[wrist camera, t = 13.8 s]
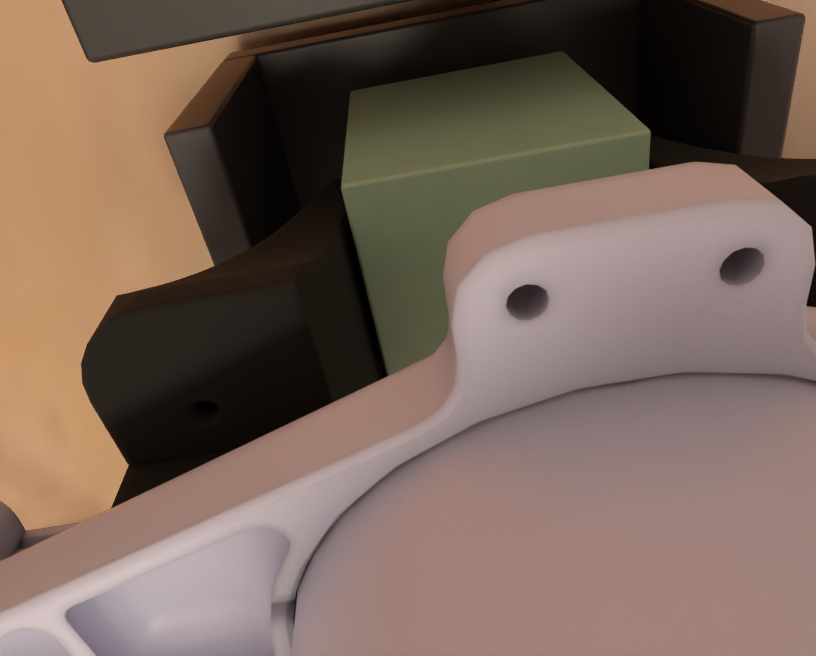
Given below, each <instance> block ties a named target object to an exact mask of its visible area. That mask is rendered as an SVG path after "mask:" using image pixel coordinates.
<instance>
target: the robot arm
mask: <svg viewBox="0 0 816 656" xmlns="http://www.w3.org/2000/svg"><path fill="white" fill-rule="evenodd" d="M341 183H342V178H339V179H335V180H333V181H331V182H330V183H329V184H328V185H327V186H326V187H324V188H323V189H322V190H321V191H320V192H319V193H318V194H317V195H316V196H315V197H314V198H313V199H312V200H311V201H310V202H309V203H308V204H307V205H306V206H305V207H304V208H303V209H302V210H301V211H300V212H298V213H297V214H296V215H295V216H294V217H293V218H291V219H290V220H289V221H288V222H287V223H285V224H284V225H283V226H282V227H281V228H280V229H278V230H277V231H276V232H274V233H273V234H272V235H270V236H269V237H267V238H266V239H264V240H263V241H261V242H260V243H258V244H256V245H255V246H253V247H252V248H250V249H248V250H246V251H245V252H243V253H241V254H239V255H237V256H235V257H233V258H231V259H229V260H226V261H224V262H222V263H220V264H218V265H216V266H214V267H212V268H209V269H207V270H204V271H202V272H199V273H197V274H194V275H191V276H188V277H185V278H182V279H179V280H176V281H173V282H170V283H166V284H163V285H159V286H155V287H151V288H147V289H143V290H139V291H135V292H131V293H127V294H122V295H117V296H116V298H115V299H114V301H113V303H112V304H111V306H110V308H109V309H108V311H107V313H106V314H105V316H104V317H103V319H102V321H101V322H100V324H99V326H98V327H97V329H96V331H95V332H94V334H93V336H92V337H91V339H90V341H89V342H88V344H87V346H86V350H85V353H84V356H83V359H82V363H81V368H82V382H83V386H84V388H85V390H86V393H87V395H88V397H89V400H90V402H91V404H92V406H93V407H94V409H95V411H96V412H97V414H98V416H99V417H100V419H101V421H102V422H103V424H104V425H105V427H106V429H107V430H108V432H109V434H110V435H111V437H112V439H113V440H114V442H115V444H116V445H117V447H118V448H119V450H120V452H121V453H122V455H123V457H124V458H125V460H126V462H127V463H128V465H129V466H128V469H127V471H126V474H125V476H124V478H123V481H122V483H121V486H120V488H119V491H118V493H117V495H116V498H115V500H114V503H113V505H112V508H111V509H109V510H107V511H105V512H103V513H101V514H99V515H96V516H94V517H92V518H90V519H88V520H86V521H84V522H80V523H74V524H67V525H61V526H54V527H48V528H41V529H35V530H28V531H26V530H25V529H24V527H23V525H22V524H21V522H20V520H19V518H18V517H17V516H16V515H15V513H14V512H13V511H12V510H11V508H9V507H8V506H7V505H5V504H4V503H3V502H1V501H0V656H816V159H786V158H770V157H760V156H750V155H741V154H734V153H727V152H722V151H716V150H711V149H706V148H700V147H696V146H691V145H687V144H683V143H678V142H674V141H670V140H666V139H662V138H659V137H655V136H650V157H649V170H644V171H639V172H633V173H627V174H622V175H616V176H610V177H605V178H599V179H593V180H588V181H582V182H576V183H571V184H565V185H559V186H554V187H548V188H542V189H537V190H531V191H525V192H520V193H514V194H511V195H509V196H506V197H504V198H502V199H499V200H497V201H495V202H493V203H490V204H488V205H486V206H483V207H481V208H479V209H476V210H474V211H473V212H472V213H471V214H470V216H469V217H468V218H467V219H466V220H465V222H464V223H463V224H462V225H461V227H460V228H459V229H458V230H457V231H456V233H455V234H454V235H453V236H452V238H451V239H450V240H449V241H448V245H447V252H446V258H445V265H444V272H443V282H444V288H445V294H446V300H447V306H448V313H449V329H448V332H447V335H446V338H445V340H444V342H443V343H442V344H441V345H440V347H439V348H438V349H437V350H436V352H435V353H434V354H433V355H431V356H429V357H427V358H425V359H423V360H420V361H418V362H416V363H414V364H412V365H410V366H408V367H406V368H404V369H402V370H400V371H398V372H395V373H393V374H391V375H389V376H387V377H385V378H383V379H382V361H383V358H382V354H381V350H380V346H379V342H378V338H377V334H376V330H375V326H374V322H373V317H372V313H371V309H370V305H369V301H368V297H367V293H366V289H365V285H364V281H363V277H362V272H361V268H360V264H359V260H358V256H357V252H356V248H355V244H354V240H353V236H352V232H351V228H350V223H349V219H348V215H347V211H346V207H345V203H344V199H343V195H342V191H341Z"/></svg>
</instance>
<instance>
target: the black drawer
mask: <svg viewBox="0 0 816 656" xmlns="http://www.w3.org/2000/svg"><path fill="white" fill-rule="evenodd" d="M407 1H412V0H62V3H63V5H64V7H65V9H66V12H67V14H68V16H69V19H70V21H71V23H72V26H73V28H74V30H75V33H76V35H77V37H78V39H79V42H80V44H81V46H82V49H83V51H84V53H85V56H86V58H87V59H88V61H90V62H94V63H96V62H101V61H106V60H111V59H116V58H121V57H126V56H131V55H136V54H141V53H147V52H152V51H157V50H162V49H167V48H172V47H177V46H182V45H187V44H192V43H198V42H203V41H208V40H213V39H218V38H223V37H228V36H233V35H238V34H243V33H249V32H254V31H259V30H264V29H269V28H274V27H279V26H284V25H289V24H294V23H300V22H305V21H310V20H315V19H320V18H325V17H330V16H335V15H340V14H345V13H350V12H356V11H361V10H366V9H371V8H376V7H381V6H386V5H391V4H396V3H401V2H407ZM804 22H805V16H804V14H802V13H799V12H796V11H792V10H789V9H786V8H783V7H780V6H777V5H773V4H770V3H767V2H764V1H761V0H500V1H495V2H490V3H485V4H480V5H475V6H469V7H464V8H459V9H454V10H449V11H444V12H439V13H434V14H428V15H423V16H418V17H413V18H408V19H403V20H398V21H392V22H387V23H382V24H377V25H372V26H367V27H362V28H356V29H351V30H346V31H341V32H336V33H331V34H326V35H320V36H315V37H310V38H305V39H300V40H295V41H290V42H284V43H279V44H274V45H269V46H264V47H259V48H254V49H249V50H243V51H238V52H233V53H230V54H229V55H228V56H227V57H226V59H225V60H224V61H223V62H222V63H221V64H220V66H219V67H218V68H217V69H216V71H215V72H214V73H213V74H212V76H211V77H210V78H209V79H208V81H207V82H206V83H205V84H204V85H203V87H202V88H201V89H200V90H199V92H198V93H197V94H196V95H195V97H194V98H193V99H192V100H191V102H190V103H189V104H188V105H187V107H186V108H185V109H184V110H183V112H182V113H181V114H180V115H179V116H178V118H177V119H176V120H175V121H174V123H173V124H172V125H171V126H170V128H169V129H168V130H167V131H166V133H165V134H164V139H165V141H166V144H167V146H168V149H169V151H170V154H171V156H172V159H173V161H174V164H175V167H176V169H177V172H178V174H179V177H180V179H181V182H182V184H183V187H184V189H185V192H186V194H187V197H188V200H189V202H190V205H191V207H192V210H193V212H194V215H195V217H196V220H197V222H198V225H199V227H200V230H201V232H202V235H203V238H204V240H205V243H206V245H207V248H208V250H209V253H210V255H211V258H212V260H213V263H214V265H215V266H216V265H218V264H220V263H222V262H224V261H226V260H229V259H231V258H233V257H235V256H237V255H239V254H241V253H243V252H245V251H246V250H248V249H250V248H252V247H253V246H255V245H256V244H258V243H260V242H261V241H263V240H264V239H266V238H267V237H269V236H270V235H272V234H273V233H274V232H276V231H277V230H278V229H280V228H281V227H282V226H283V225H284V224H285V223H287V222H288V221H289V220H290V219H291V218H293V217H294V216H295V215H296V214H297V213H298V212H300V211H301V210H302V209H303V208H304V207H305V206H306V205H307V204H308V203H309V202H310V201H311V200H312V199H313V198H314V197H315V196H316V195H317V194H318V193H319V192H320V191H321V190H322V189H323V188H324V187H326V186H327V185H328V184H329V183H330V182H331V181H333V180H335V179H339V178H342V172H343V162H344V152H345V142H346V131H347V121H348V111H349V101H350V92H351V91H353V90H359V89H364V88H369V87H374V86H380V85H385V84H390V83H396V82H401V81H406V80H412V79H417V78H422V77H427V76H433V75H438V74H443V73H449V72H454V71H459V70H464V69H470V68H475V67H480V66H486V65H491V64H496V63H501V62H507V61H512V60H517V59H523V58H528V57H533V56H539V55H544V54H549V53H554V52H560V51H562V52H564V53H566V54H567V55H568V56H569V57H570V58H571V59H572V60H573V61H574V62H575V63H577V64H578V65H579V66H580V67H581V68H582V69H583V70H584V71H585V72H586V73H588V74H589V75H590V76H591V77H592V78H593V79H594V80H595V81H596V82H598V83H599V84H600V85H601V86H602V87H603V88H604V89H605V90H606V91H607V92H609V93H610V94H611V95H612V96H613V97H614V98H615V99H616V100H617V101H619V102H620V103H621V104H622V105H623V106H624V107H625V108H626V109H627V110H628V111H630V112H631V113H632V114H633V115H634V116H635V117H636V118H637V119H638V120H640V121H641V122H642V123H643V124H644V125H645V126H646V127H647V128H648V129H649V130H650V132H651V136H655V137H659V138H662V139H666V140H670V141H674V142H678V143H683V144H687V145H691V146H696V147H700V148H706V149H711V150H716V151H722V152H727V153H734V154H741V155H750V156H760V157H770V158H781V157H782V151H783V145H784V139H785V133H786V127H787V122H788V116H789V110H790V104H791V98H792V92H793V87H794V81H795V75H796V69H797V63H798V57H799V52H800V46H801V40H802V34H803V28H804ZM385 377H387V375H386V371H385V367H384V362H383V361H382V379H383V378H385Z"/></svg>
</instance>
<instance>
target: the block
mask: <svg viewBox="0 0 816 656" xmlns="http://www.w3.org/2000/svg"><path fill="white" fill-rule="evenodd" d="M650 136H651V132H650V130H649V129H648V128H647V127H646V126H645V125H644V124H643V123H642V122H641V121H640V120H638V119H637V118H636V117H635V116H634V115H633V114H632V113H631V112H630V111H628V110H627V109H626V108H625V107H624V106H623V105H622V104H621V103H620V102H619V101H617V100H616V99H615V98H614V97H613V96H612V95H611V94H610V93H609V92H607V91H606V90H605V89H604V88H603V87H602V86H601V85H600V84H599V83H598V82H596V81H595V80H594V79H593V78H592V77H591V76H590V75H589V74H588V73H586V72H585V71H584V70H583V69H582V68H581V67H580V66H579V65H578V64H577V63H575V62H574V61H573V60H572V59H571V58H570V57H569V56H568V55H567V54H566V53H564V52H562V51H560V52H554V53H549V54H544V55H539V56H533V57H528V58H523V59H517V60H512V61H507V62H501V63H496V64H491V65H486V66H480V67H475V68H470V69H464V70H459V71H454V72H449V73H443V74H438V75H433V76H427V77H422V78H417V79H412V80H406V81H401V82H396V83H390V84H385V85H380V86H374V87H369V88H364V89H359V90H353V91H351V92H350V101H349V111H348V121H347V131H346V142H345V152H344V162H343V172H342V183H341V191H342V195H343V199H344V203H345V207H346V211H347V215H348V219H349V223H350V228H351V232H352V236H353V240H354V244H355V248H356V252H357V256H358V260H359V264H360V268H361V272H362V277H363V281H364V285H365V289H366V293H367V297H368V301H369V305H370V309H371V313H372V317H373V322H374V326H375V330H376V334H377V338H378V342H379V346H380V350H381V354H382V358H383V362H384V367H385V371H386V375H387V376H389V375H391V374H393V373H395V372H398V371H400V370H402V369H404V368H406V367H408V366H410V365H412V364H414V363H416V362H418V361H420V360H423V359H425V358H427V357H429V356H431V355H433V354H434V353H435V352H436V350H437V349H438V348H439V347H440V345H441V344H442V343H443V342H444V340H445V338H446V335H447V332H448V329H449V313H448V306H447V300H446V294H445V288H444V282H443V272H444V265H445V258H446V252H447V245H448V241H449V240H450V239H451V238H452V236H453V235H454V234H455V233H456V231H457V230H458V229H459V228H460V227H461V225H462V224H463V223H464V222H465V220H466V219H467V218H468V217H469V216H470V214H471V213H472V212H473V211H474V210H476V209H479V208H481V207H483V206H486V205H488V204H490V203H493V202H495V201H497V200H499V199H502V198H504V197H506V196H509V195H511V194H514V193H520V192H525V191H531V190H537V189H542V188H548V187H554V186H559V185H565V184H571V183H576V182H582V181H588V180H593V179H599V178H605V177H610V176H616V175H622V174H627V173H633V172H639V171H644V170H649V157H650Z"/></svg>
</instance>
